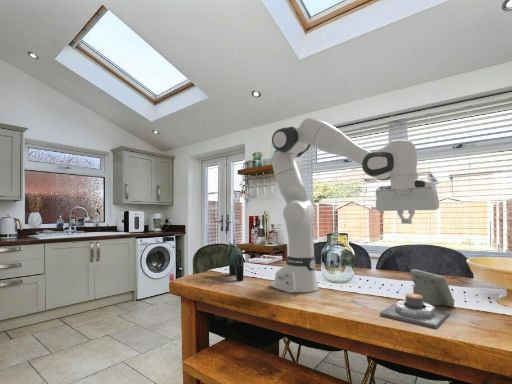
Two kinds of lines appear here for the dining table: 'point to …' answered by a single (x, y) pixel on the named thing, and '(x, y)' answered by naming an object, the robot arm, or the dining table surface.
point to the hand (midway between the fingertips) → (406, 223)
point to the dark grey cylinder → (414, 301)
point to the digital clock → (432, 288)
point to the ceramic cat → (235, 261)
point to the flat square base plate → (416, 314)
